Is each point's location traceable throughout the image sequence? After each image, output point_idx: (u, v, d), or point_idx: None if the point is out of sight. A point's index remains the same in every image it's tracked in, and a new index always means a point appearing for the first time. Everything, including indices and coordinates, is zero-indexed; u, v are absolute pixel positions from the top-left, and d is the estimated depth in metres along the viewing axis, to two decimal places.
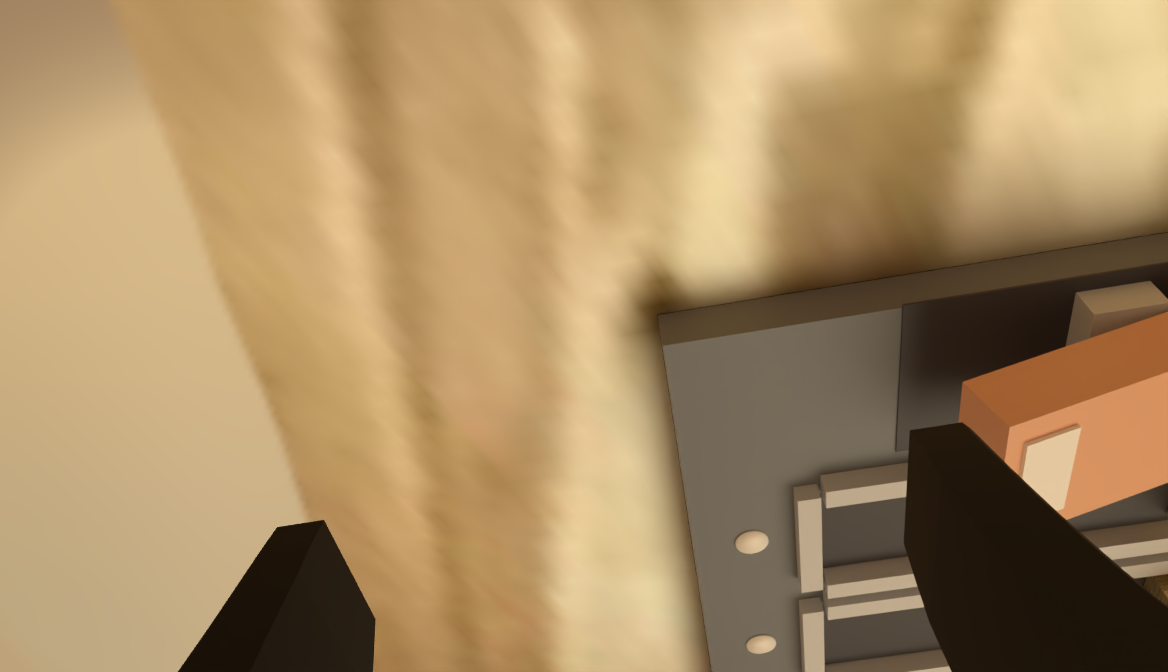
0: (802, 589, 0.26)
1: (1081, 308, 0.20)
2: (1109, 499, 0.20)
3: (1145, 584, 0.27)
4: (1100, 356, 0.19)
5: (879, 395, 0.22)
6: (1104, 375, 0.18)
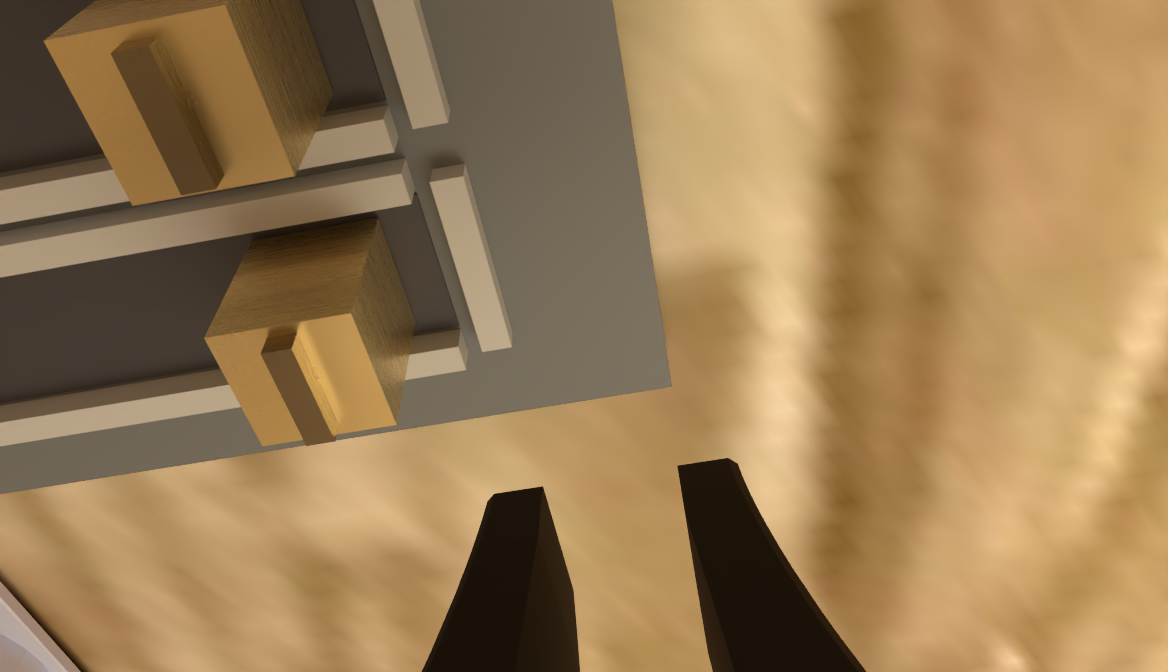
0: None
1: None
2: None
3: None
4: None
5: None
6: None
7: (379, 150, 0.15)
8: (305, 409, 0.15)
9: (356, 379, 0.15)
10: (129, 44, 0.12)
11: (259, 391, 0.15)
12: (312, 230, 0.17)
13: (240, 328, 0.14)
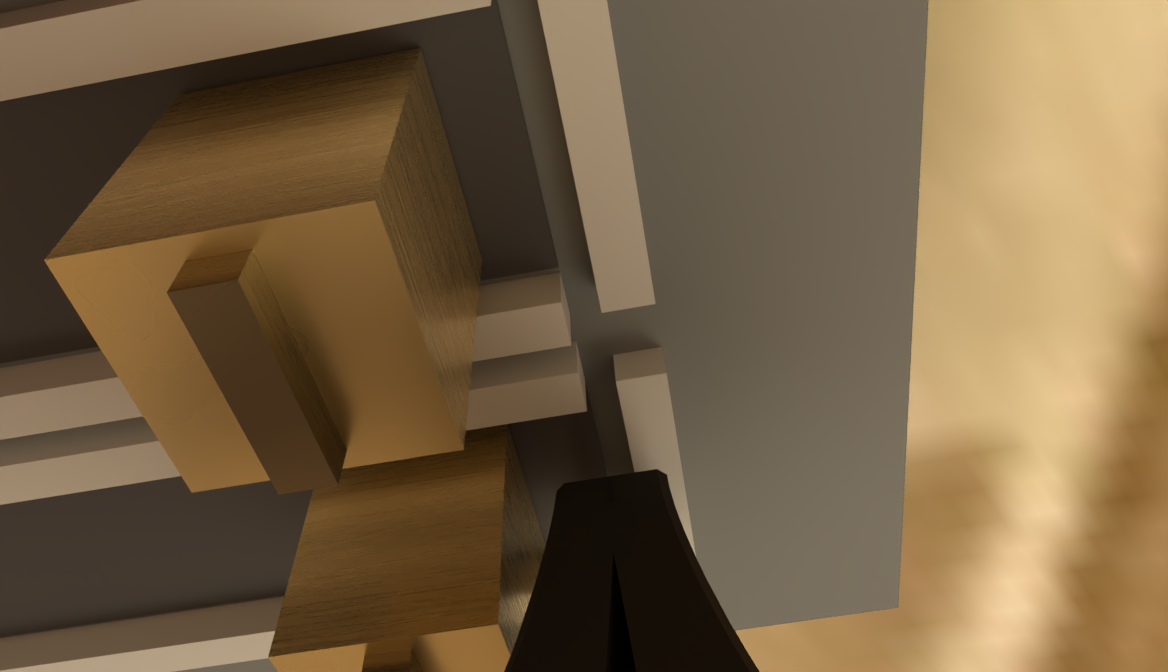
0: None
1: None
2: None
3: None
4: None
5: None
6: None
7: (549, 342, 0.10)
8: None
9: None
10: (197, 264, 0.06)
11: None
12: None
13: (324, 641, 0.09)
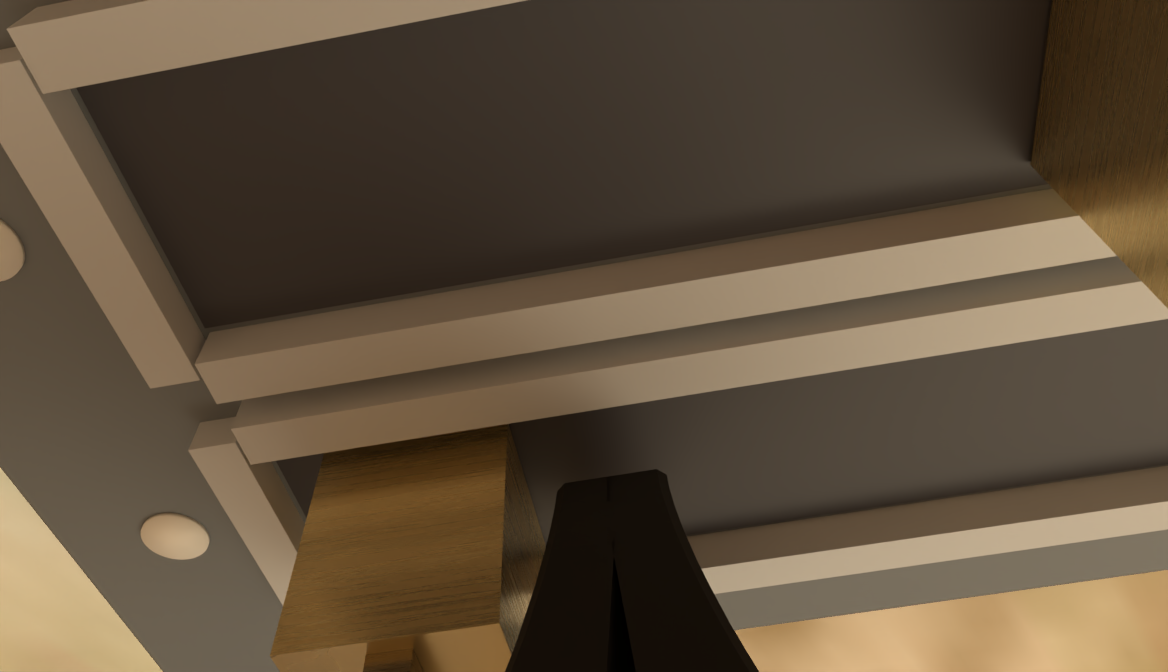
0: (147, 378, 0.10)
1: None
2: None
3: None
4: None
5: None
6: None
7: None
8: None
9: None
10: None
11: None
12: (411, 439, 0.12)
13: (325, 640, 0.09)
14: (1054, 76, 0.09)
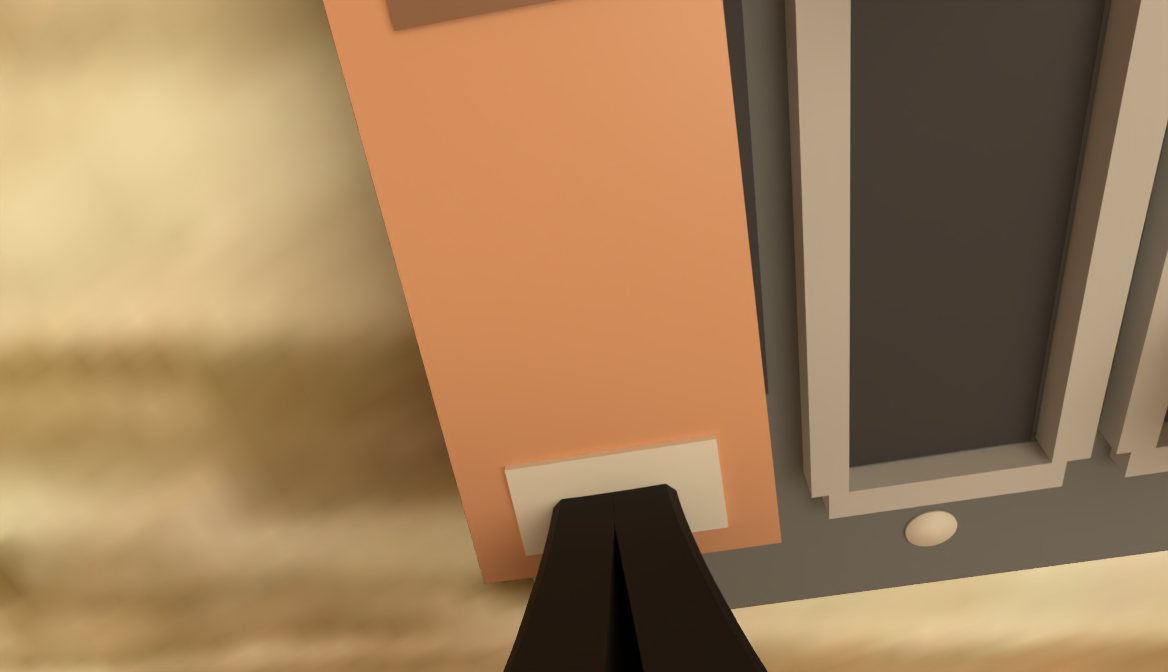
0: (1053, 485, 0.15)
1: None
2: (742, 322, 0.10)
3: None
4: None
5: None
6: None
7: None
8: None
9: None
10: None
11: None
12: None
13: None
14: None
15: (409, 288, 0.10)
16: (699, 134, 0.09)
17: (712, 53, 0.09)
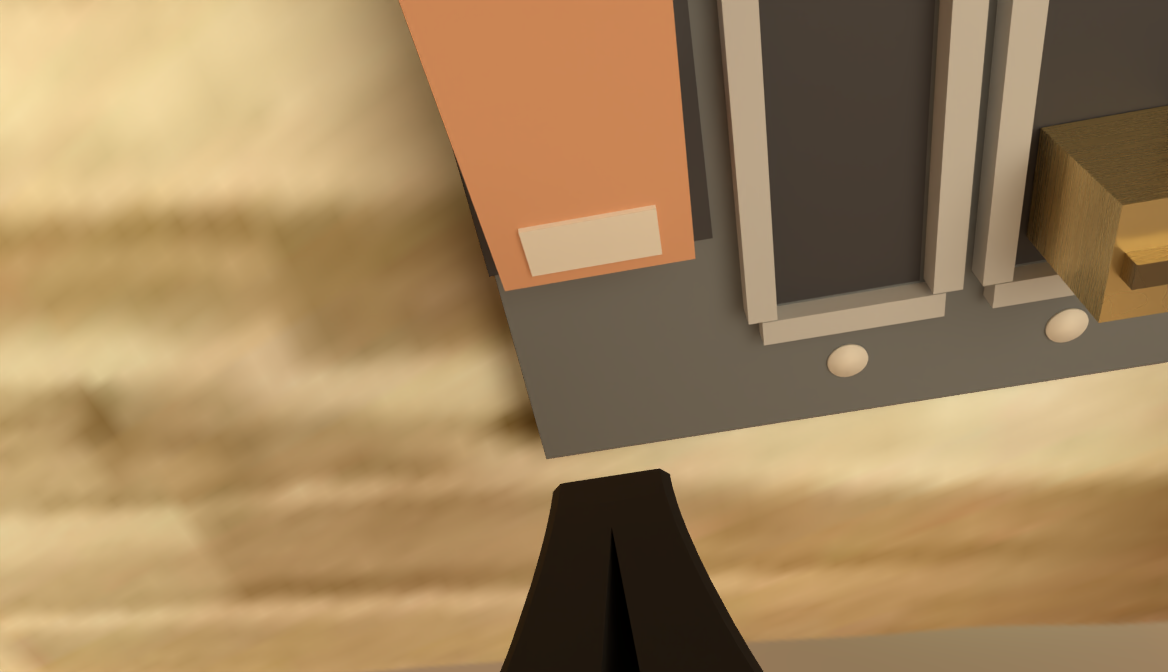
0: (937, 315, 0.19)
1: None
2: (675, 143, 0.15)
3: None
4: None
5: None
6: None
7: None
8: None
9: None
10: None
11: None
12: (1034, 187, 0.18)
13: (1101, 293, 0.16)
14: None
15: (452, 134, 0.14)
16: (650, 38, 0.13)
17: None
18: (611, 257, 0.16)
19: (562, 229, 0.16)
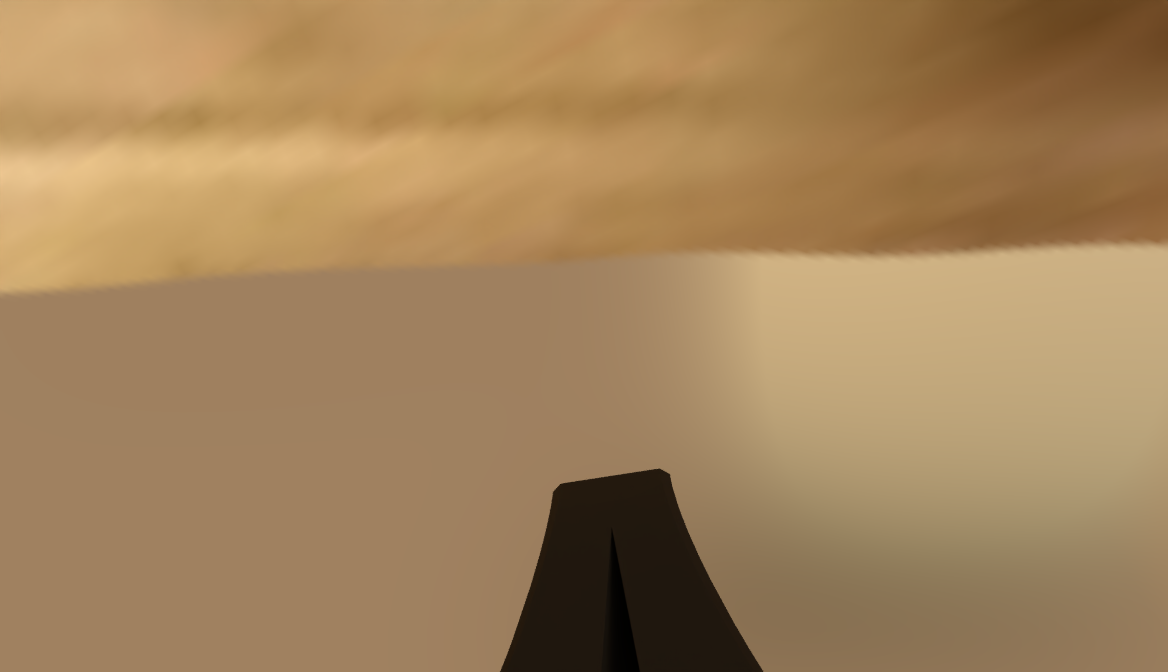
0: None
1: None
2: None
3: None
4: None
5: None
6: None
7: None
8: None
9: None
10: None
11: None
12: None
13: None
14: None
15: None
16: None
17: None
18: None
19: None
